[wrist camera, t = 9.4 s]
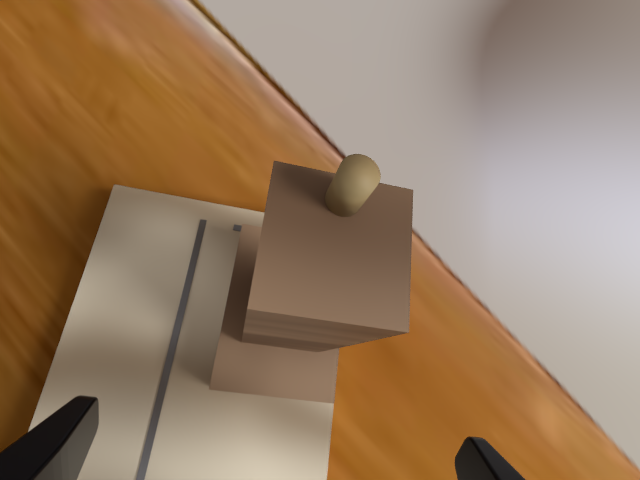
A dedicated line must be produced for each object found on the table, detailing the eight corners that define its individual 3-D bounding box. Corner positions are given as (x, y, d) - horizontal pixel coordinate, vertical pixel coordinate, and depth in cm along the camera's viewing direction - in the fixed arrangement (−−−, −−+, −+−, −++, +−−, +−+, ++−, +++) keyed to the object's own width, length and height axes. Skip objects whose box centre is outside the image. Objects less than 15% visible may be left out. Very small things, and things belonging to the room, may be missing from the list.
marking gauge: (323, 400, 17) (492, 458, 6) (212, 387, 16) (156, 426, 5) (338, 255, 20) (477, 97, 8) (241, 238, 19) (249, 38, 7)
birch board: (301, 648, 15) (308, 677, 14) (-28, 645, 13) (-60, 679, 12) (342, 238, 22) (350, 228, 20) (122, 197, 20) (113, 183, 18)
